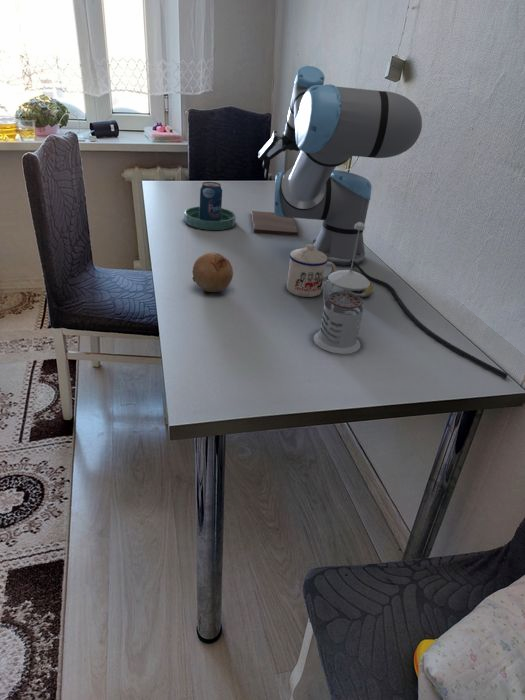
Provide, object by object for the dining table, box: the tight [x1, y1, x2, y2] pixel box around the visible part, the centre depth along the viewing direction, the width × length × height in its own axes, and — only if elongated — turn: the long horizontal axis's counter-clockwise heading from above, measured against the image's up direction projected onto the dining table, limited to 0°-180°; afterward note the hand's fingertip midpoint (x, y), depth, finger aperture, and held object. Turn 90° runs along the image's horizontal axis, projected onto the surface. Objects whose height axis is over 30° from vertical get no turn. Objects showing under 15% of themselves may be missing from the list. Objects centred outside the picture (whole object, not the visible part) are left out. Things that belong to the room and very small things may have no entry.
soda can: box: [199, 181, 223, 221], centre depth 159 cm, size 7×7×12 cm
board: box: [250, 210, 299, 237], centre depth 167 cm, size 20×14×1 cm
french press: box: [313, 222, 371, 355], centre depth 97 cm, size 10×12×25 cm
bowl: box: [184, 205, 236, 231], centre depth 161 cm, size 16×16×3 cm
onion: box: [191, 252, 234, 293], centre depth 117 cm, size 10×9×10 cm
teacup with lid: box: [286, 243, 336, 298], centre depth 121 cm, size 12×9×12 cm
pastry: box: [343, 280, 373, 298], centre depth 125 cm, size 9×7×4 cm
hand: (286, 177), depth 162 cm, fingers open, 13 cm apart
